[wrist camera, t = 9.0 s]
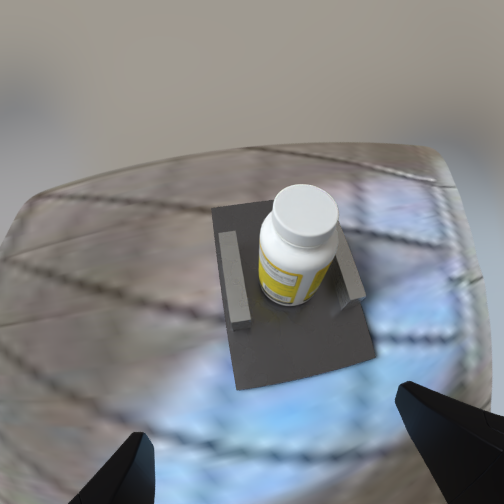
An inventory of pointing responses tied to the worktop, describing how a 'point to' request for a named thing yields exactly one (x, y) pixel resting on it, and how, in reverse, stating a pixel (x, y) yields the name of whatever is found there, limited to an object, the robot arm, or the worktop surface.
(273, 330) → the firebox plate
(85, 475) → the worktop surface
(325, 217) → the supplement bottle
